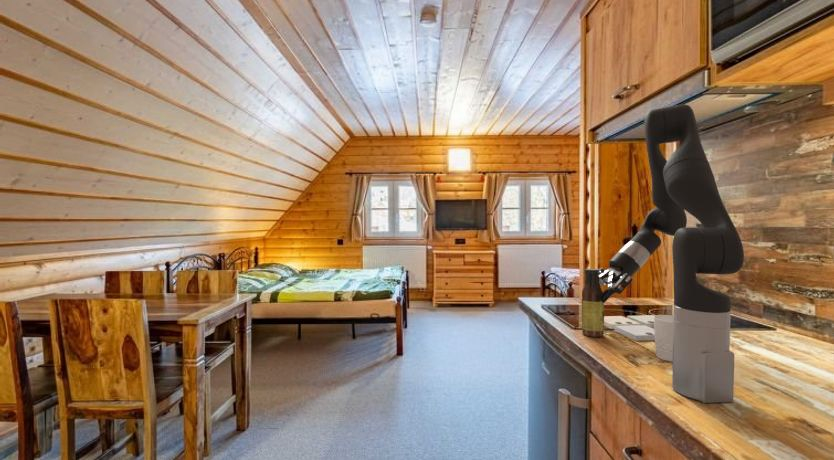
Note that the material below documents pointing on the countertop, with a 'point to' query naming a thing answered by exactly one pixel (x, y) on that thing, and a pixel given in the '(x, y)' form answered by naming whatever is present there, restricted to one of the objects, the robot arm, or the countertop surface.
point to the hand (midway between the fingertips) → (592, 297)
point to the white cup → (664, 336)
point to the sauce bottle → (592, 305)
